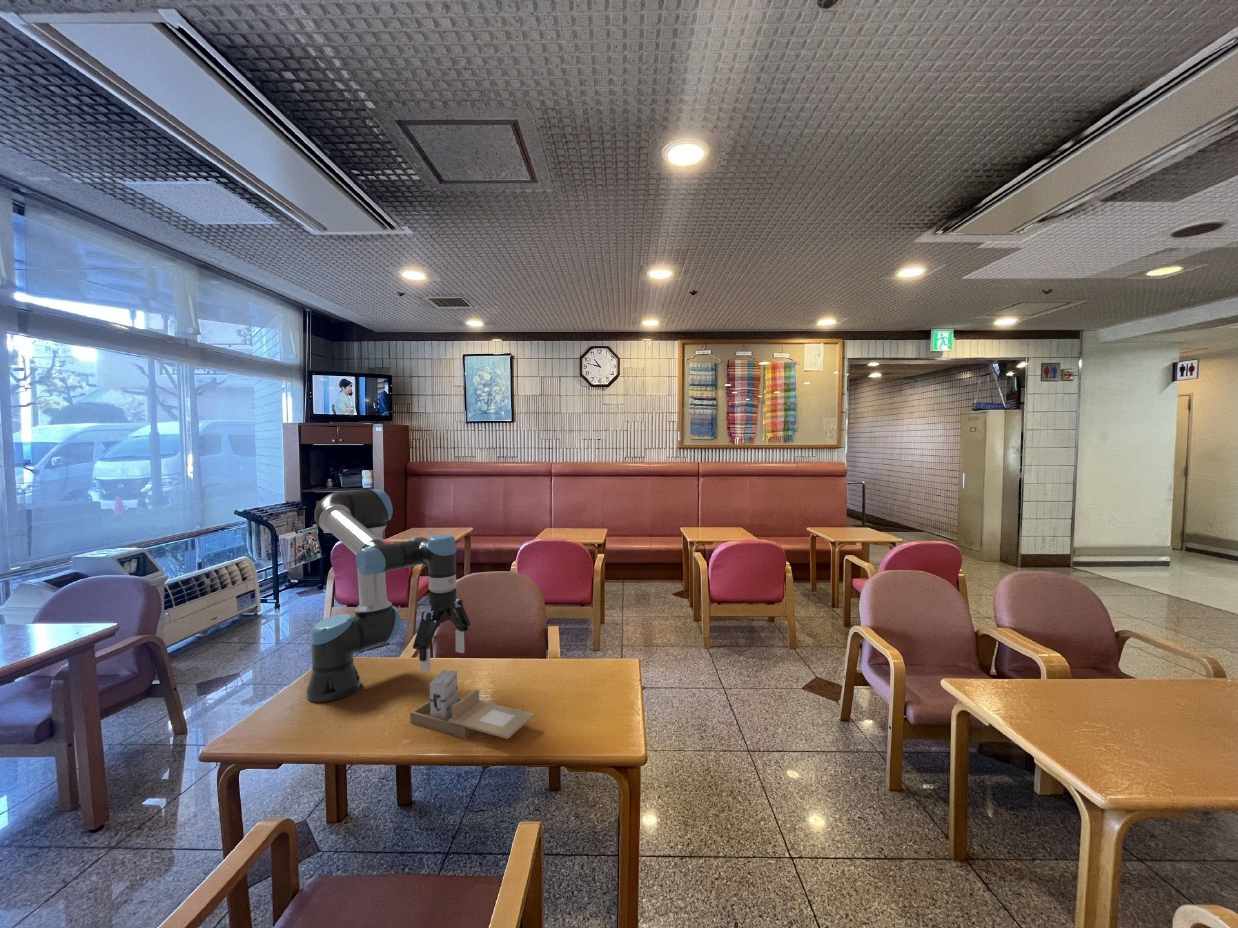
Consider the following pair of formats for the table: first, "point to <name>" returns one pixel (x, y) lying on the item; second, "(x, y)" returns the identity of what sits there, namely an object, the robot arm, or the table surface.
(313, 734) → the table surface
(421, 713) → the mailer
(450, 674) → the ink box
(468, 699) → the lid
